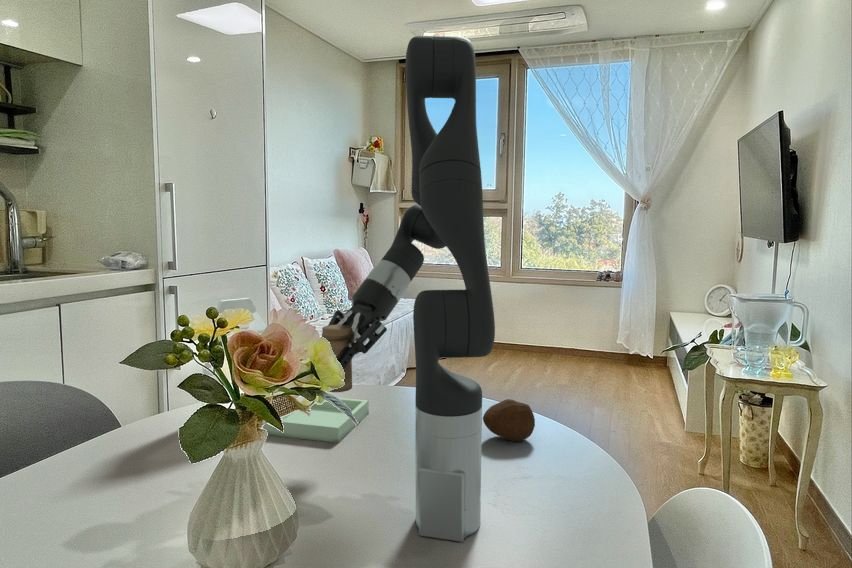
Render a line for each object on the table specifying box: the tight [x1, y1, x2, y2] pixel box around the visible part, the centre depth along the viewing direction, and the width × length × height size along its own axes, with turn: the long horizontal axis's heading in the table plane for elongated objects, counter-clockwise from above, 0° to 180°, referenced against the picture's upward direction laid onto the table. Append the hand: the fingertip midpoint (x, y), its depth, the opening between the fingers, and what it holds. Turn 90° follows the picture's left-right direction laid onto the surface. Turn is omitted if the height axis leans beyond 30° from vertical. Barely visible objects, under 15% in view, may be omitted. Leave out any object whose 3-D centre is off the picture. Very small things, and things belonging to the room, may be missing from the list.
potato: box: [482, 398, 536, 442], centre depth 107 cm, size 7×10×8 cm
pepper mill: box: [321, 325, 353, 393], centre depth 98 cm, size 5×5×11 cm
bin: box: [263, 397, 370, 444], centre depth 115 cm, size 16×16×3 cm
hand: (328, 364), depth 97 cm, fingers closed on pepper mill, 5 cm apart
